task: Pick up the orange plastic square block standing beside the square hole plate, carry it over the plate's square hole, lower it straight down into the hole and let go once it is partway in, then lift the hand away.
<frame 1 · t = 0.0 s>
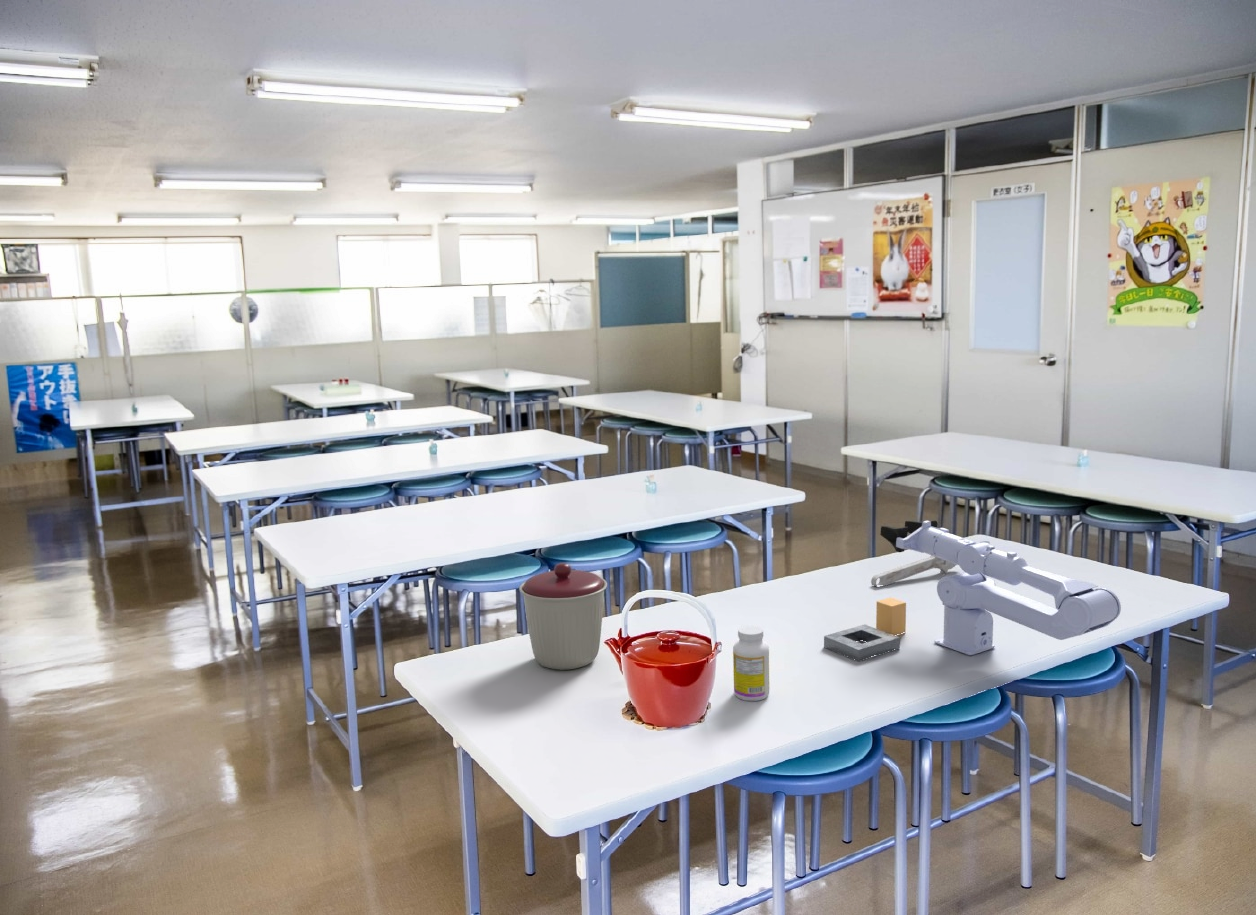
hand: (893, 527, 214), 22 cm above the table, tool horizontal, fingers open, 7 cm apart
square block: (890, 632, 210), on the table
supplement bottle: (751, 696, 180), on the table
canister: (566, 661, 199), on the table
square hole plate: (861, 647, 202), on the table
wrench: (917, 579, 249), on the table
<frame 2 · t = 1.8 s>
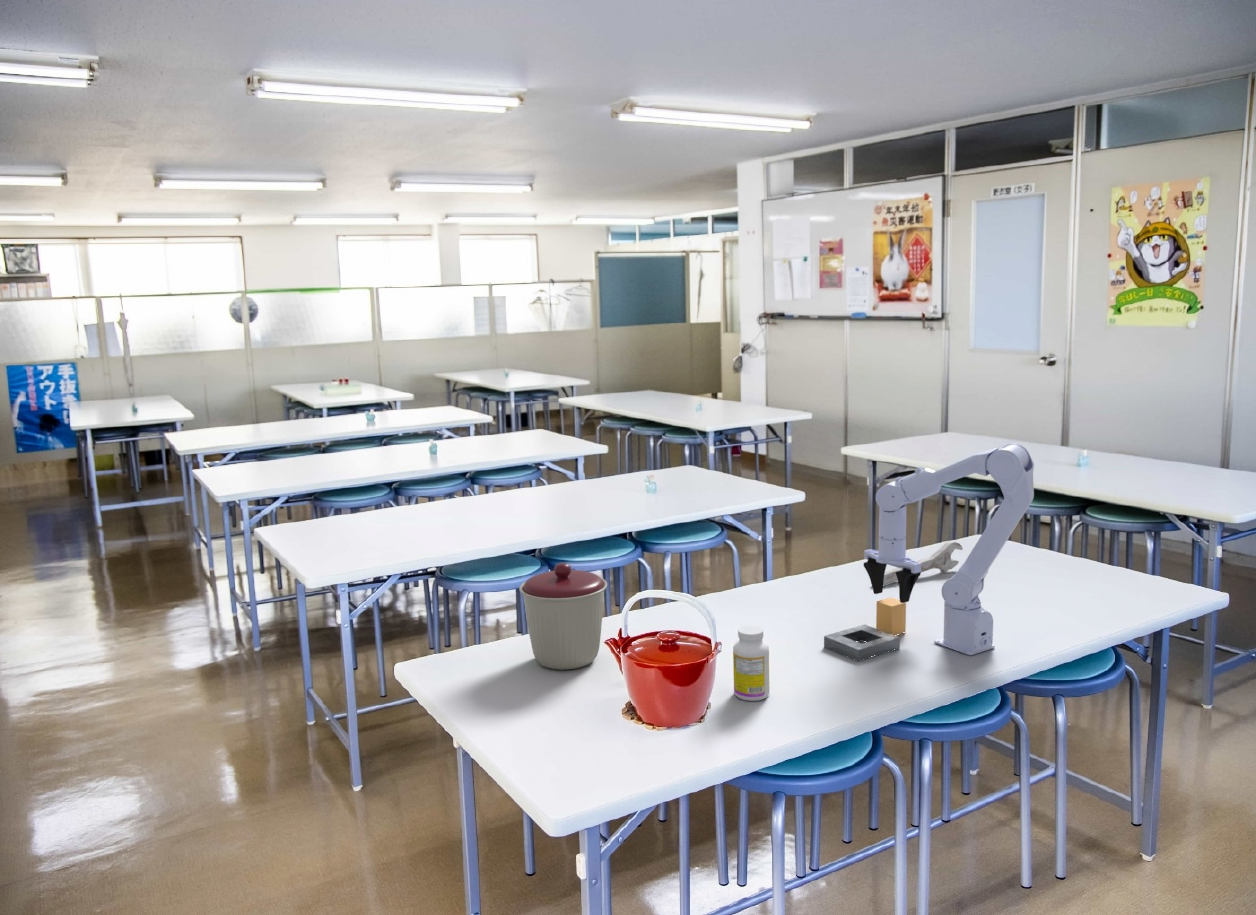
hand: (891, 597, 209), 8 cm above the table, tool pointing down, fingers open, 7 cm apart
nothing on the table moved.
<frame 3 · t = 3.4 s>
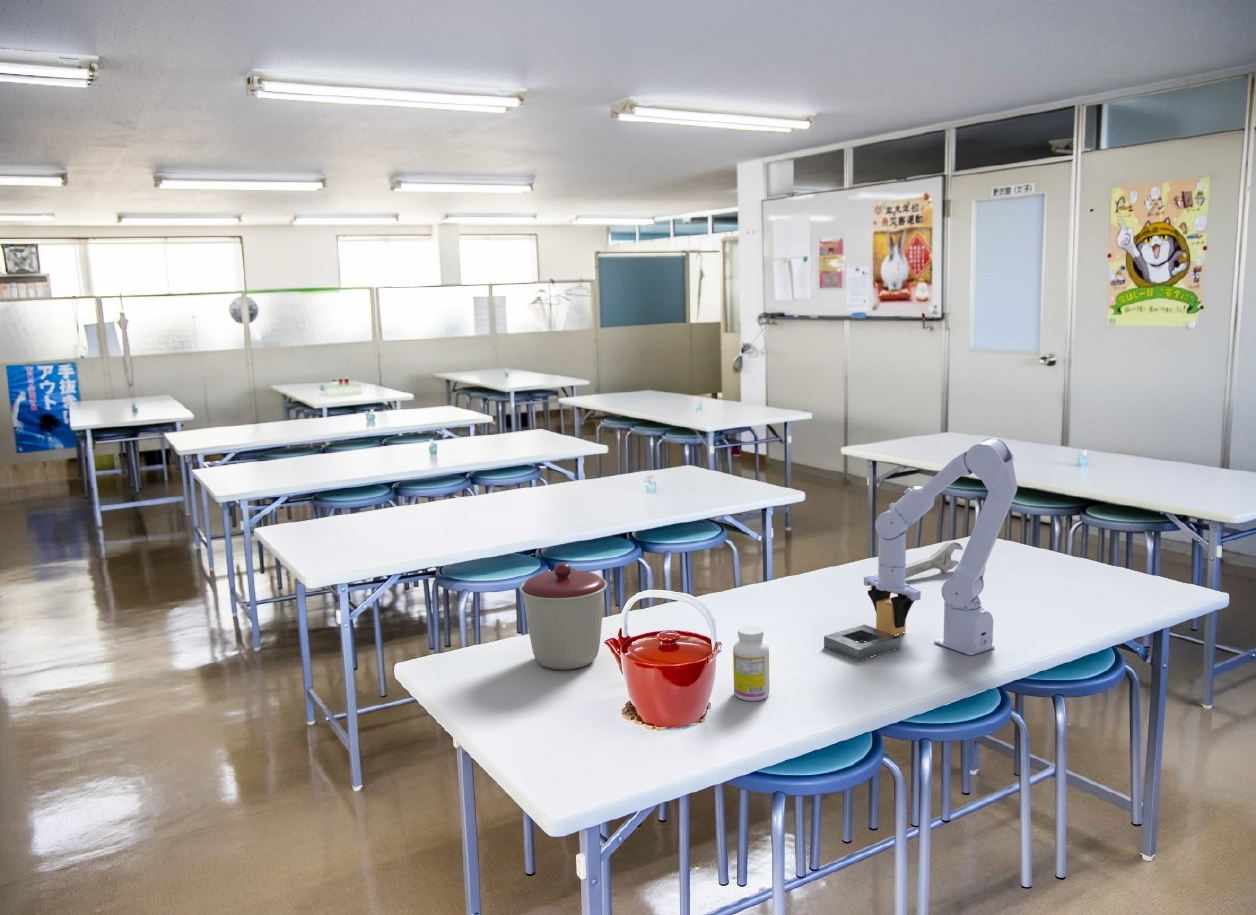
hand: (890, 623, 210), 2 cm above the table, tool pointing down, fingers closed on square block, 4 cm apart
square block: (890, 632, 210), on the table, touching gripper
everything else where it was.
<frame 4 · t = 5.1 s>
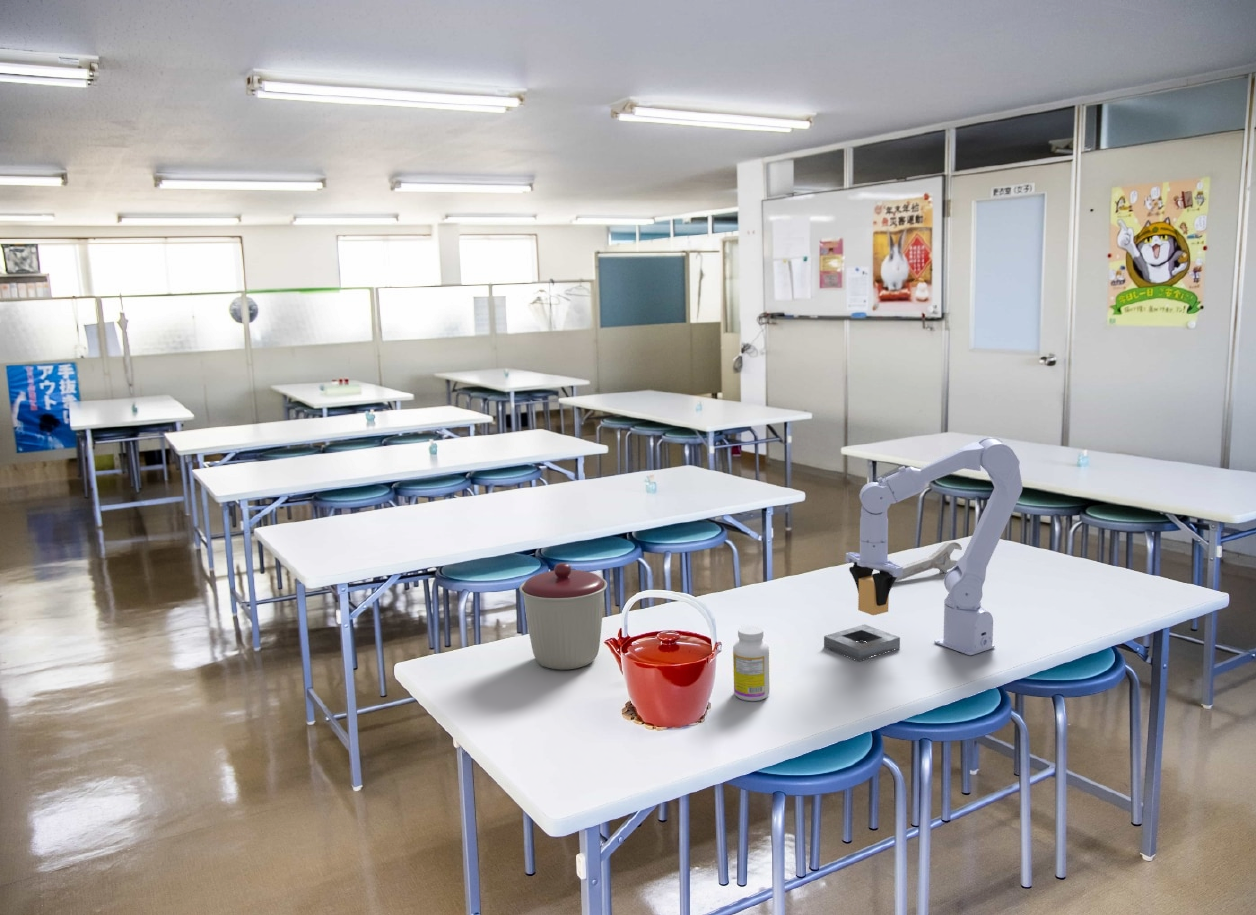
hand: (872, 601, 203), 9 cm above the table, tool pointing down, fingers closed on square block, 4 cm apart
square block: (873, 610, 204), point 7 cm above the table, touching gripper
everything else where it was.
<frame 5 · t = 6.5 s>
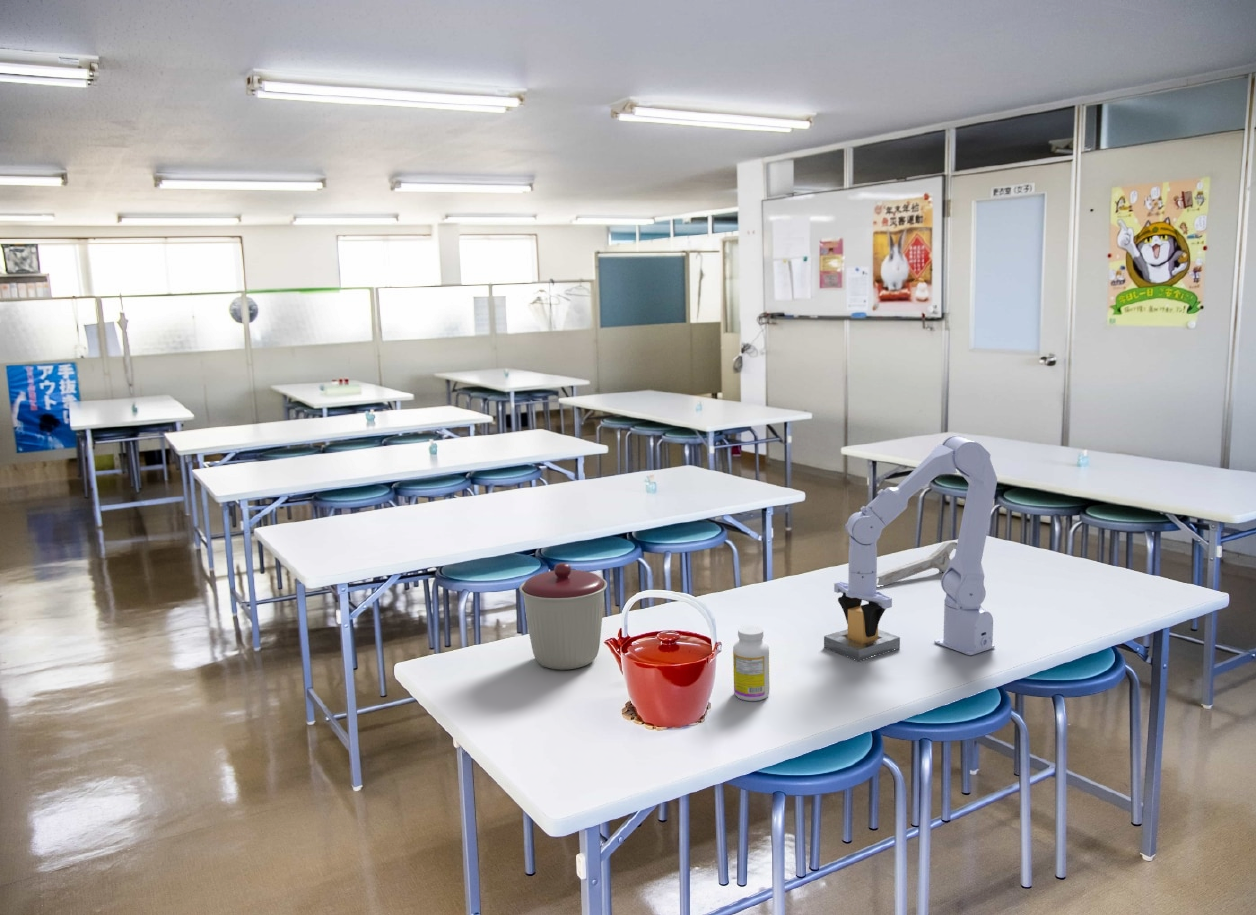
hand: (861, 632, 201), 3 cm above the table, tool pointing down, fingers closed on square block, 4 cm apart
square block: (862, 641, 201), point 1 cm above the table, touching gripper
everything else where it was.
when the fingers open (3 cm above the table, at t = 7.3 s): square block drops 1 cm, resting in square hole plate.
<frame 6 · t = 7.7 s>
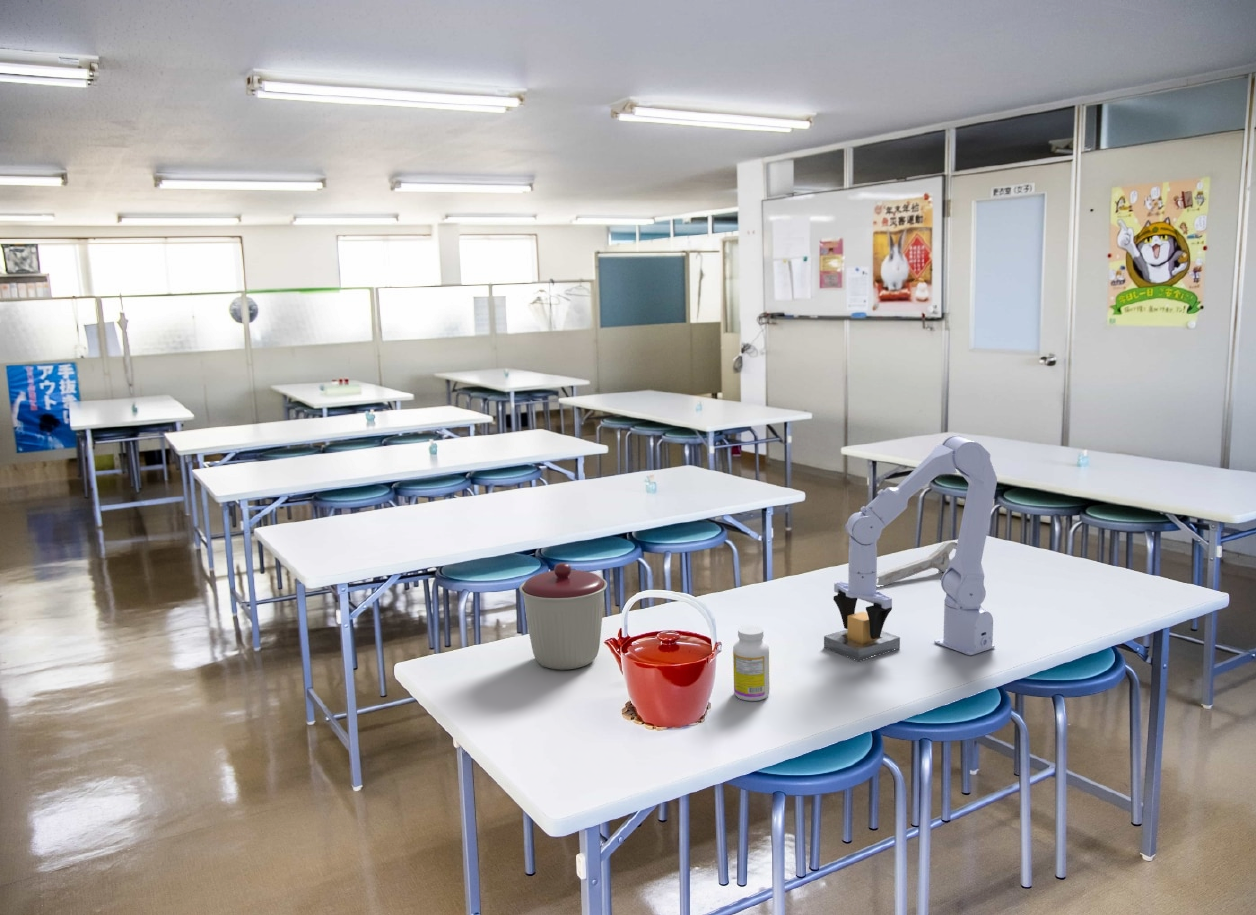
hand: (861, 632, 201), 3 cm above the table, tool pointing down, fingers open, 7 cm apart
square block: (862, 648, 202), resting in square hole plate
everything else where it was.
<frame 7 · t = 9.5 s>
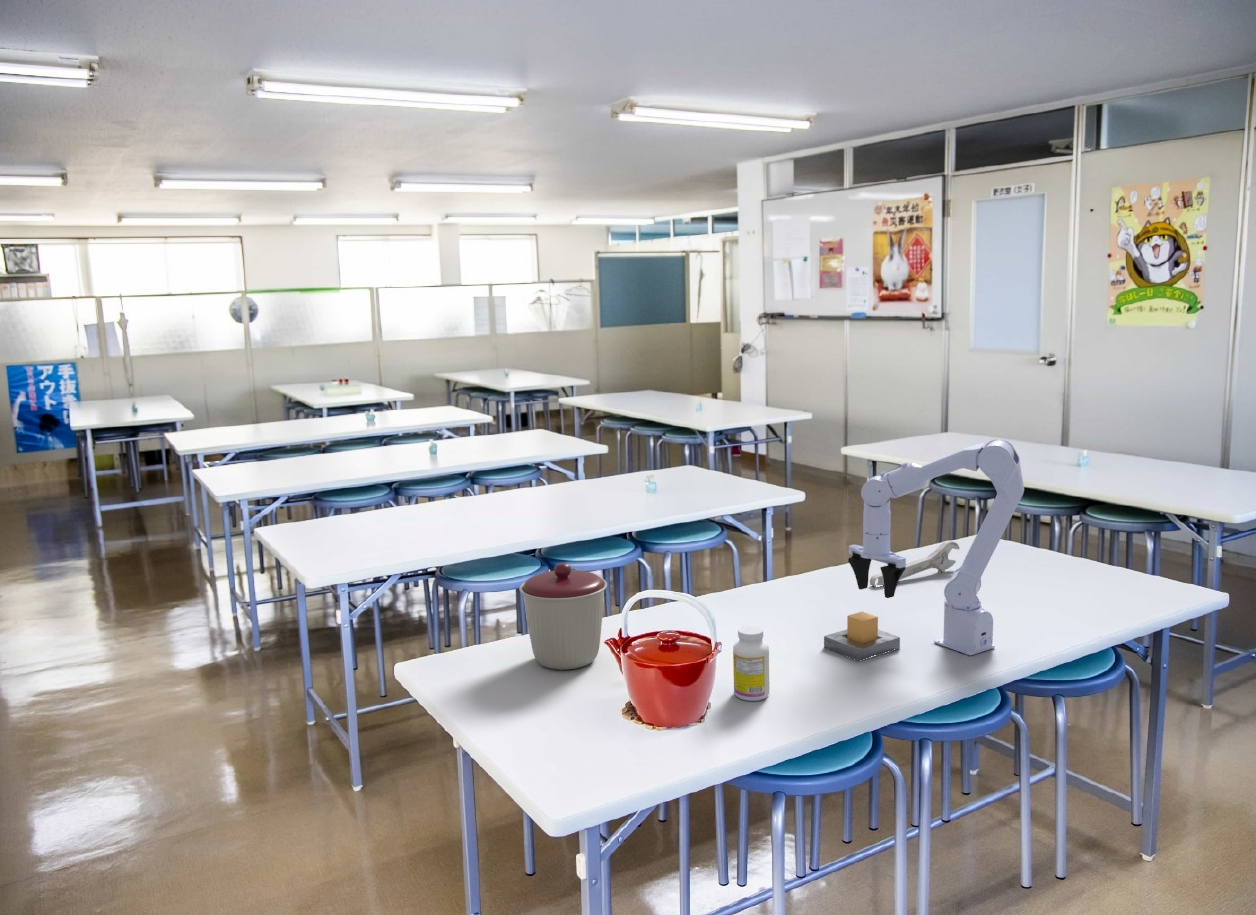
hand: (876, 592, 208), 9 cm above the table, tool pointing down, fingers open, 7 cm apart
nothing on the table moved.
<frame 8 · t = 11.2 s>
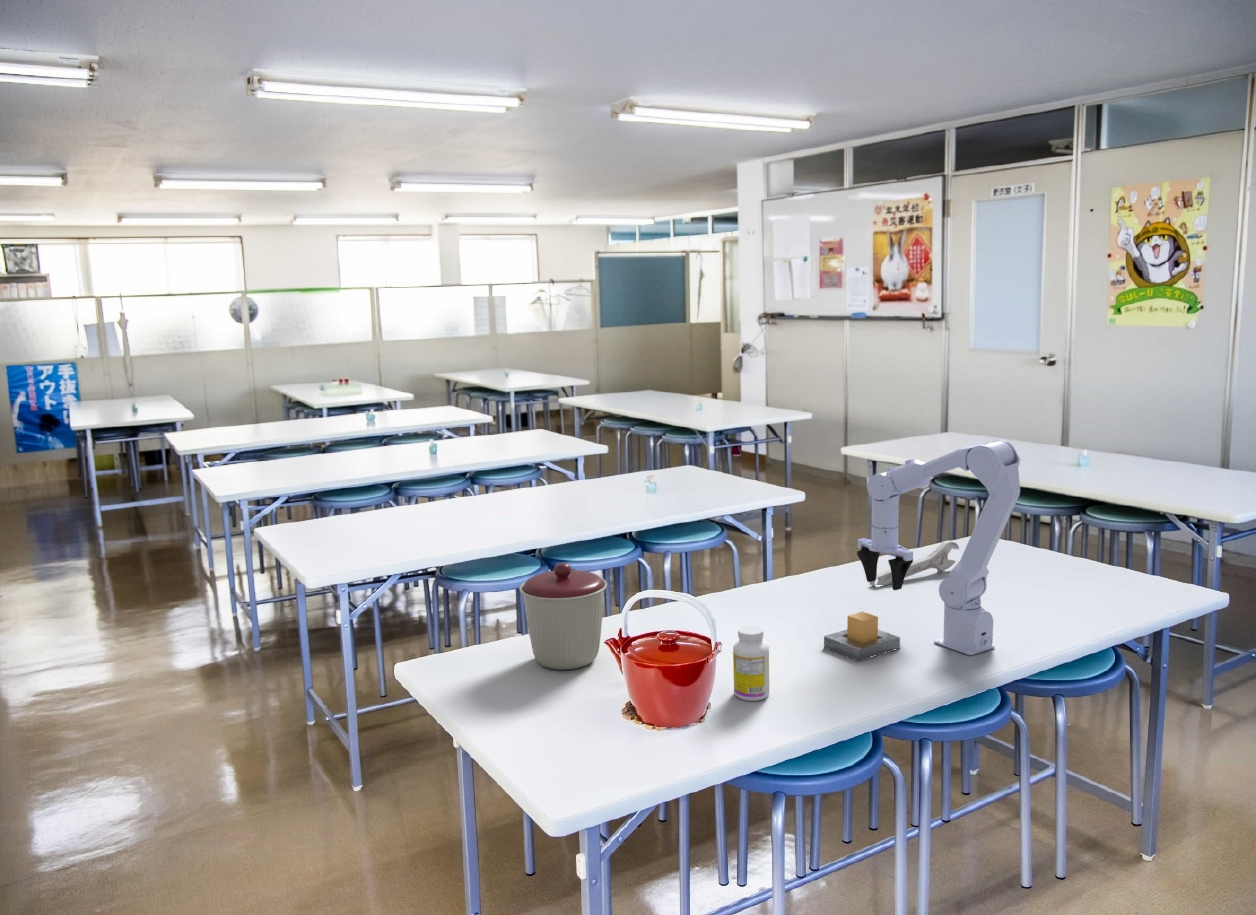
hand: (884, 585, 213), 9 cm above the table, tool pointing down, fingers open, 7 cm apart
nothing on the table moved.
at the end: square block 0.2 cm off-centre on the square hole plate, point 0.0 cm above the square hole plate's base; square block tilted 0°; the gripper is holding nothing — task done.
